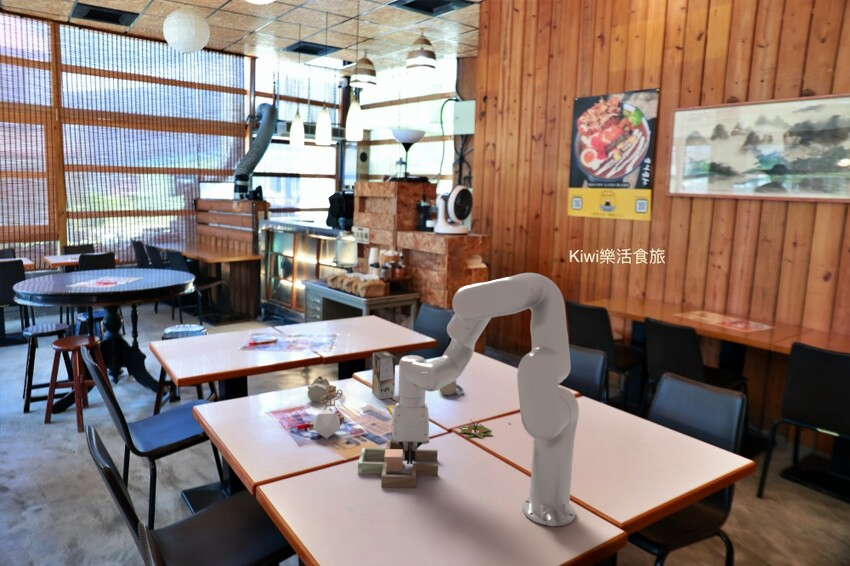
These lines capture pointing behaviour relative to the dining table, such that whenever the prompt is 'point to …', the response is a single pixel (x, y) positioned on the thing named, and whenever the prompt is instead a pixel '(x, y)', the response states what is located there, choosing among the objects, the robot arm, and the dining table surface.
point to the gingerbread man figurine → (331, 399)
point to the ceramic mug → (451, 389)
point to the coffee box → (383, 375)
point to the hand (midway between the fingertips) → (409, 461)
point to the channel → (397, 477)
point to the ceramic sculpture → (319, 389)
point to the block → (394, 459)
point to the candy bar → (391, 409)
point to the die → (326, 423)
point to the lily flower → (475, 427)
